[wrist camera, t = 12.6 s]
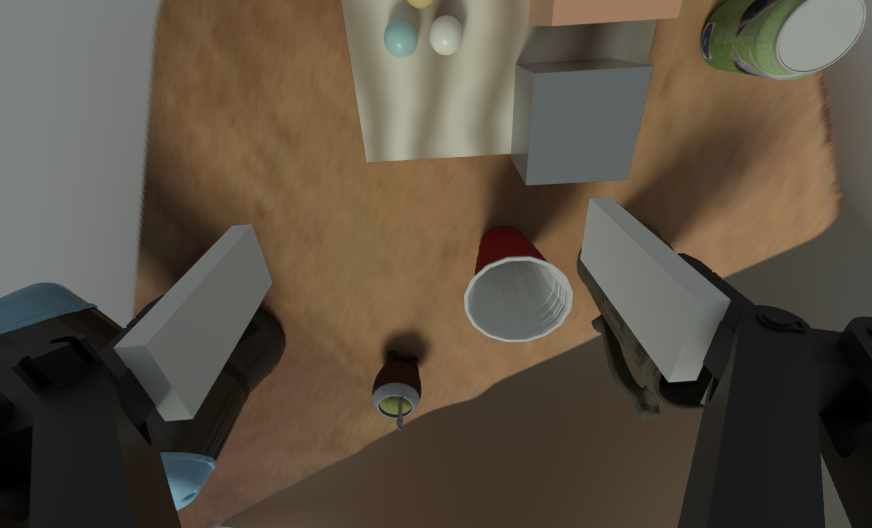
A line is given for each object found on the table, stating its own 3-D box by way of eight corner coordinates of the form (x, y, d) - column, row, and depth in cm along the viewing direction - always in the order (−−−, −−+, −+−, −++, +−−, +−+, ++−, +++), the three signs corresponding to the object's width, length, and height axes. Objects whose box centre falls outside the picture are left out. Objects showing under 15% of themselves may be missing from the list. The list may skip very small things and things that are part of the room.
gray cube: (510, 158, 40) (526, 185, 34) (515, 64, 36) (534, 73, 29) (595, 153, 40) (627, 179, 33) (611, 58, 35) (653, 66, 29)
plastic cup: (464, 201, 44) (473, 254, 34) (553, 210, 45) (588, 264, 35) (452, 277, 50) (457, 340, 40) (531, 284, 51) (555, 348, 41)
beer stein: (592, 211, 45) (678, 336, 29) (679, 217, 46) (810, 344, 30) (557, 305, 54) (607, 440, 38) (629, 310, 55) (709, 445, 39)
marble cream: (430, 55, 35) (430, 57, 33) (428, 16, 34) (427, 16, 31) (462, 52, 35) (464, 55, 33) (461, 14, 33) (464, 13, 31)
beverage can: (749, 66, 37) (868, 82, 27) (673, 71, 37) (762, 89, 27) (777, -13, 33) (924, -29, 23) (693, -7, 34) (803, -20, 24)
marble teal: (387, 57, 35) (384, 60, 33) (383, 19, 34) (379, 19, 31) (419, 55, 35) (418, 58, 33) (416, 17, 34) (415, 17, 31)
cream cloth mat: (368, 158, 42) (366, 162, 41) (331, -84, 31) (327, -87, 30) (624, 143, 41) (629, 147, 40) (677, -110, 30) (686, -114, 29)
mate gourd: (391, 383, 62) (380, 476, 49) (366, 352, 58) (347, 444, 45) (432, 369, 60) (431, 462, 47) (408, 336, 56) (401, 428, 43)
